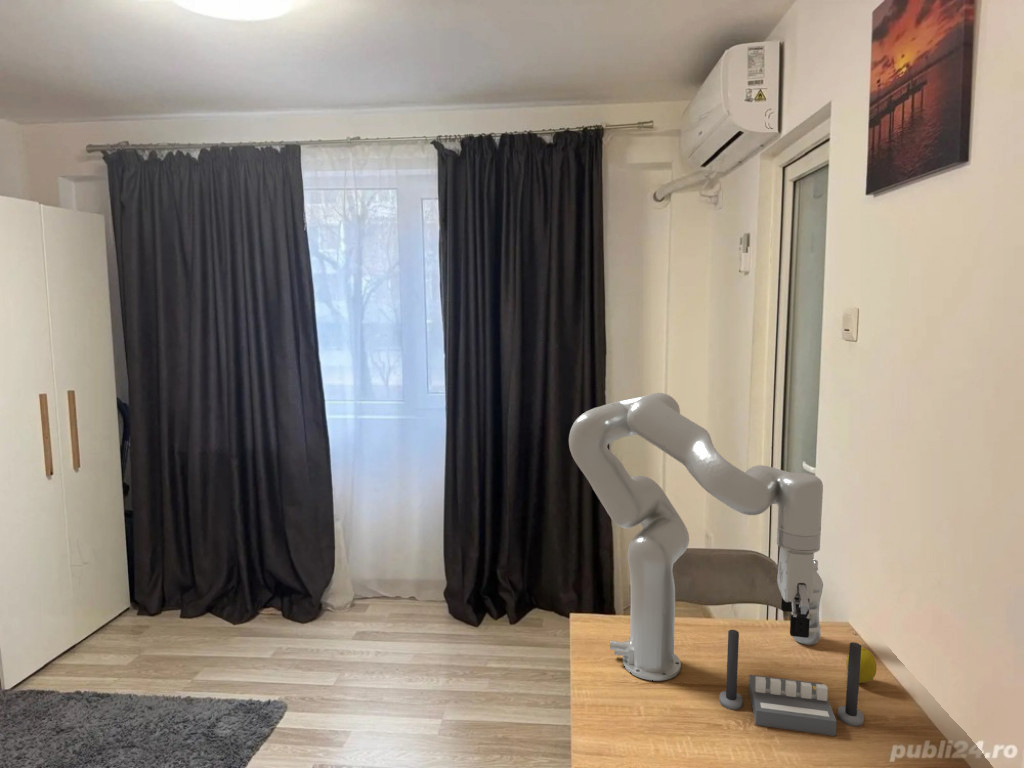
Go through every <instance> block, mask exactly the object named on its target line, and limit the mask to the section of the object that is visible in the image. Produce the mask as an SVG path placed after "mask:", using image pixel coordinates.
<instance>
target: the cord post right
mask: <svg viewBox="0 0 1024 768" xmlns="http://www.w3.org/2000/svg"><path fill="white" fill-rule="evenodd" d="M861 647H862V645H861V644H860V643H858V642H854V641H853V642H850V643H849V648H848V654H849V660H848V670H847V675H846V676H847V677H846V679H847V680H846V691H845V705H841V706H839V707H838V711H837V717H838V719H839V720H840V721H841V722H842V723H844V724H846V725H849V726H853V727H860V726H863V725H864V720H865V715H864V713H863V712H862V711H861V710H859V709H858V703H859V687H860V683H859V675H860V661H861Z"/></svg>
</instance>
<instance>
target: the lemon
mask: <svg viewBox="0 0 1024 768" xmlns="http://www.w3.org/2000/svg"><path fill="white" fill-rule="evenodd" d="M848 660H849V653H848V655H847V658H846V670H847V671H848ZM876 673H877V661H876V658H875V656H874V654H873V653H872V652H871V651H870V650H868V649H867V648H865V647H864V646H861V661H860V675H859V684H863V683H869V682H871V681H872V680H873V679H874V678H875V676H876Z"/></svg>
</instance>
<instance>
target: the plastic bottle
mask: <svg viewBox="0 0 1024 768" xmlns="http://www.w3.org/2000/svg"><path fill="white" fill-rule="evenodd" d="M818 565H819V561H818V560H816V559H815V558H814V583H813V598H812V602H811V603H810V604H809V614H810V623H809V637H808V638H805V637H795V636H792V638H793V639H794V640H795V641H796V642H797V643H800V644H803V645H808V646H813V645H816V644H817V643H818V642H819V641H820V639H821V625H820V604H821V599H822V593H823V589H824V582H823V580H822V577H821V575H820V574H819V573H818V570H819V567H818ZM799 607H800V604H799Z"/></svg>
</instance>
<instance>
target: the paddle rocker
mask: <svg viewBox="0 0 1024 768" xmlns="http://www.w3.org/2000/svg"><path fill="white" fill-rule="evenodd" d="M755 691H756V692H760V693H765V692H766V693H771V694H775V695H786V696H791V697H796V696H797V697H801V698H806V699H811V698H813V699H817V700H822V701H827V698H828V692H829V691H828V686H827V684H823V683H822V684H816V695H812V685H811V683H805V682H801V688H800V693H796V682H795V681H789V680H786V681H785V691H781V681H780V679H773V678H770V689H766V679H765V677H756V676H755Z"/></svg>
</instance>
